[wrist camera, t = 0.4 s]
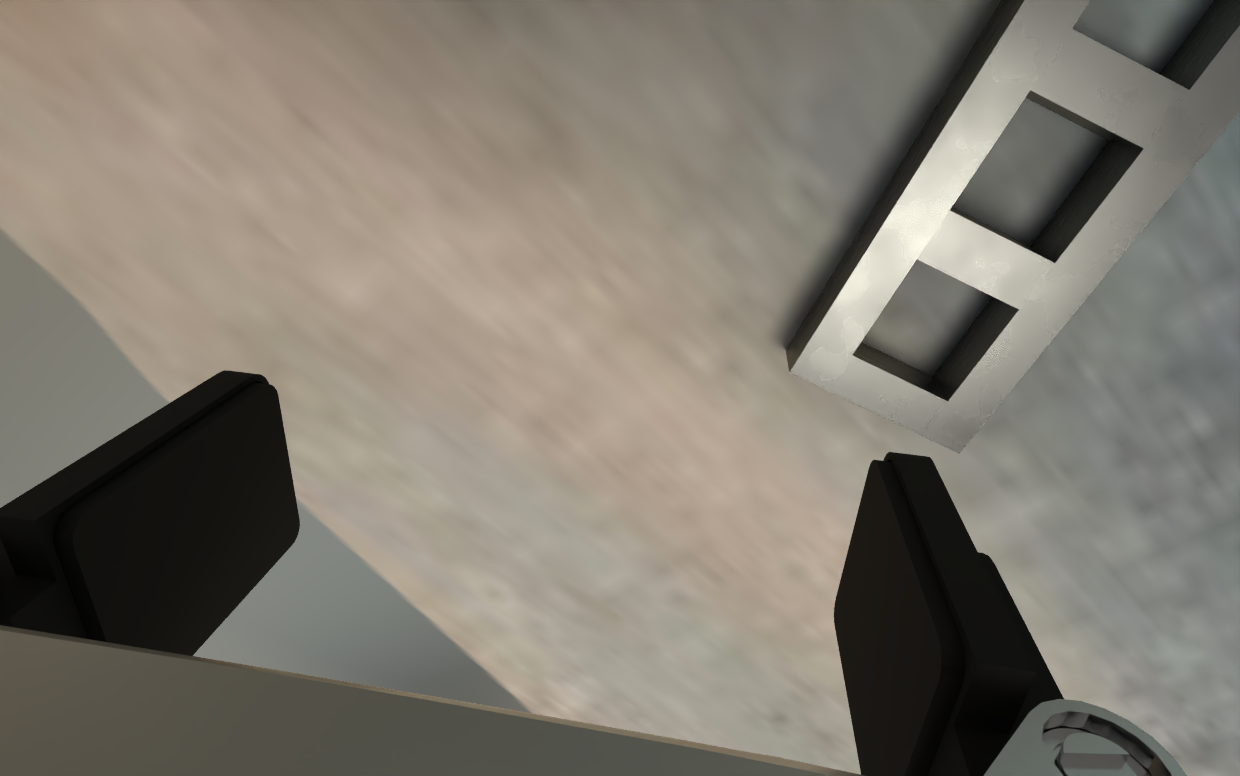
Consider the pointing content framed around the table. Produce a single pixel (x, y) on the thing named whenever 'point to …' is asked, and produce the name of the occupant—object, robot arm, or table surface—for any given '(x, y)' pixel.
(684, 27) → the table surface
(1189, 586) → the table surface
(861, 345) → the steel rail
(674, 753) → the robot arm
